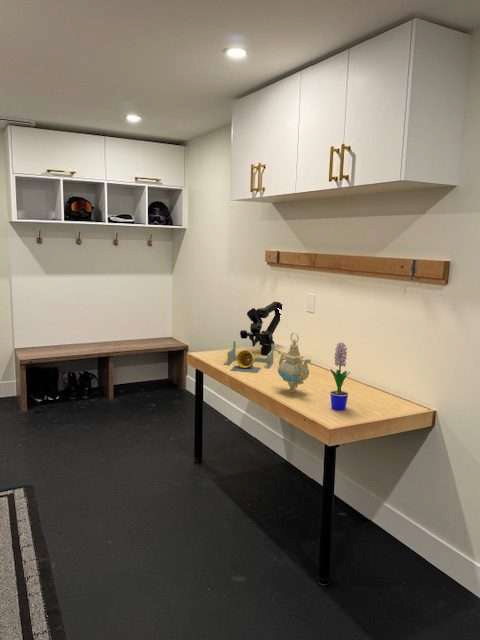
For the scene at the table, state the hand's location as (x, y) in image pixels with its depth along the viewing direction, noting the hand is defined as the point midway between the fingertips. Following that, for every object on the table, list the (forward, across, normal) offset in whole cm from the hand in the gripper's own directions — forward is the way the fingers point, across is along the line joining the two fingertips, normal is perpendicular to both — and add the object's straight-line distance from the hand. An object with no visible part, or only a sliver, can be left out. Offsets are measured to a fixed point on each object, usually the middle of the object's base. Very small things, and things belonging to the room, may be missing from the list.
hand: (253, 346), depth 307 cm
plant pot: (+12, -1, -2) cm, 12 cm away
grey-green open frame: (+11, 0, +3) cm, 12 cm away
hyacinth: (+62, +54, -48) cm, 95 cm away
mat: (+21, 0, -7) cm, 22 cm away
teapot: (+48, +31, -34) cm, 66 cm away
